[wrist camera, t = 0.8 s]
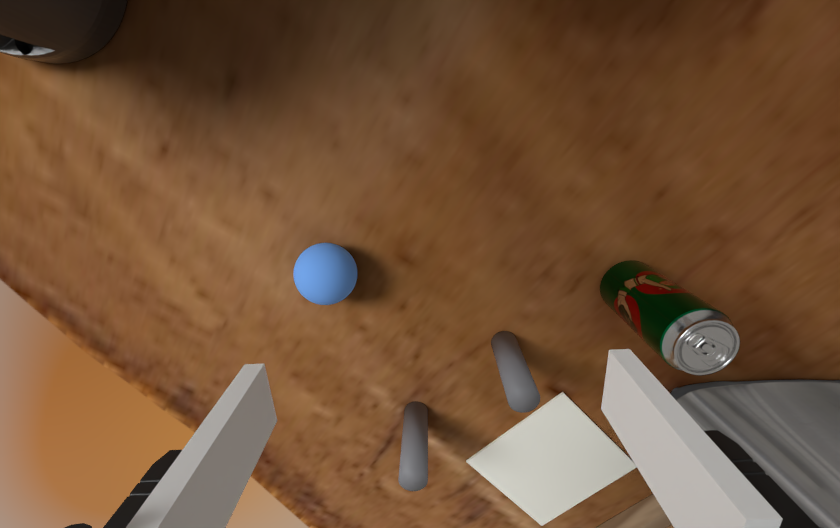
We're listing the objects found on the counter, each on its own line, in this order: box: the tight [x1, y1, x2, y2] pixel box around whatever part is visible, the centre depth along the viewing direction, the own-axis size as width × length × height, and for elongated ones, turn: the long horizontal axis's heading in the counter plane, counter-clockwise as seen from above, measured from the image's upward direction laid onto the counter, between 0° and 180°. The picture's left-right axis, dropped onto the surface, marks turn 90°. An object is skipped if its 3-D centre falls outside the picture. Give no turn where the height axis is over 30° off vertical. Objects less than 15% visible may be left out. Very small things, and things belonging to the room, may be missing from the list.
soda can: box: [600, 261, 740, 375], centre depth 32 cm, size 5×5×12 cm
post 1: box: [399, 402, 428, 491], centre depth 39 cm, size 3×3×9 cm
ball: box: [294, 243, 357, 305], centre depth 35 cm, size 6×6×6 cm
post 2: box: [491, 331, 540, 412], centre depth 36 cm, size 3×3×9 cm
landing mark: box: [466, 392, 636, 526], centre depth 45 cm, size 14×14×1 cm
